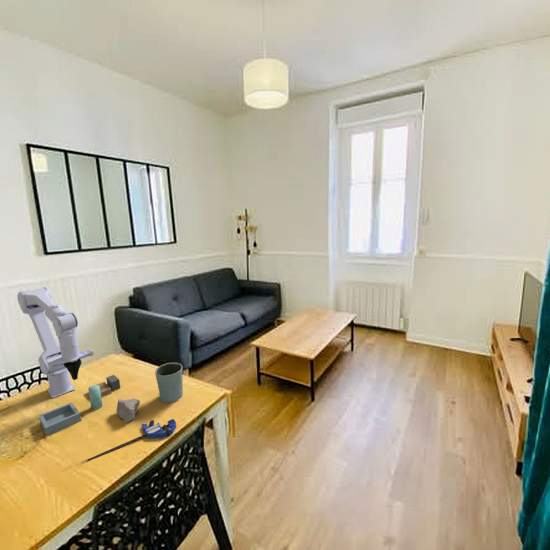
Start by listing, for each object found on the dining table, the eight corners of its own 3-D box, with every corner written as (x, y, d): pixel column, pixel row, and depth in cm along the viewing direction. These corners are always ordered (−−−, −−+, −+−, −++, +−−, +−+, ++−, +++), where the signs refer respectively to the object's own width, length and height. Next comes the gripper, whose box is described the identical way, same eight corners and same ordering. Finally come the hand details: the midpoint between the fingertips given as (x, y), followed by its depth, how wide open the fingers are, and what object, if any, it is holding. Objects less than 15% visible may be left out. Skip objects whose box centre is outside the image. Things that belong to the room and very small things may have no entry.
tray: (40, 422, 107) (38, 415, 107) (73, 409, 114) (71, 402, 114) (46, 435, 101) (45, 428, 100) (81, 420, 108) (79, 413, 107)
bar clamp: (169, 410, 108) (178, 425, 100) (170, 416, 109) (179, 432, 101) (60, 455, 91) (60, 478, 83) (62, 462, 91) (62, 486, 83)
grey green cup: (174, 386, 127) (172, 360, 125) (190, 394, 122) (187, 366, 119) (153, 398, 119) (149, 370, 117) (168, 407, 114) (165, 378, 111)
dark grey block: (107, 386, 129) (106, 377, 129) (115, 383, 132) (113, 374, 131) (112, 391, 125) (111, 382, 125) (120, 388, 128) (119, 379, 127)
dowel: (90, 407, 115) (86, 388, 114) (100, 402, 118) (97, 384, 116) (93, 411, 113) (90, 391, 111) (103, 406, 115) (100, 387, 114)
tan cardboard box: (89, 393, 126) (88, 387, 125) (105, 386, 130) (104, 381, 129) (95, 400, 120) (94, 394, 120) (111, 394, 124) (111, 388, 124)
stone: (145, 416, 109) (143, 402, 108) (120, 426, 104) (118, 411, 103) (139, 403, 117) (137, 389, 116) (115, 412, 112) (113, 397, 111)
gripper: (48, 355, 107) (55, 390, 110) (94, 342, 117) (99, 374, 120) (43, 350, 112) (50, 383, 114) (88, 337, 122) (93, 369, 125)
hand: (74, 378), depth 117 cm, fingers closed
